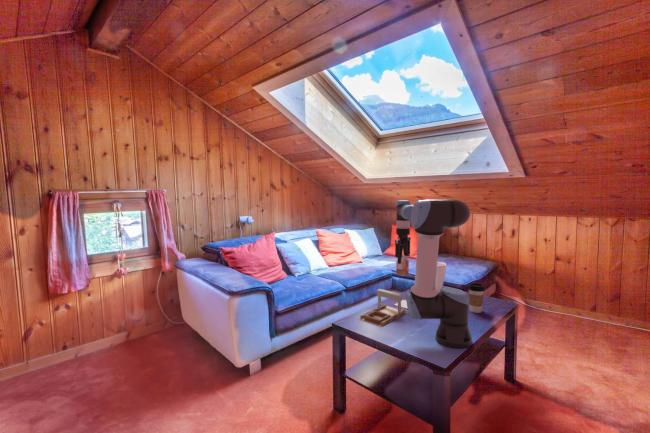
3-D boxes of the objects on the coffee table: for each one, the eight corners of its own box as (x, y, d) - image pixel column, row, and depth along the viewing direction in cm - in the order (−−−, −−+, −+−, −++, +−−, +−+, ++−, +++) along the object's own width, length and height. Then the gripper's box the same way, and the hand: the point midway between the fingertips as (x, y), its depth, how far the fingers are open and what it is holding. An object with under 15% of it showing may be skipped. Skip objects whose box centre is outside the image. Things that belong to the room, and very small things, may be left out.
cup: (434, 293, 211) (434, 260, 209) (449, 297, 202) (450, 263, 200) (422, 296, 205) (423, 263, 203) (438, 301, 195) (438, 266, 193)
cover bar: (399, 314, 170) (399, 295, 169) (376, 307, 179) (376, 290, 178) (402, 312, 172) (402, 294, 171) (380, 305, 182) (380, 288, 181)
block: (404, 276, 182) (404, 262, 182) (396, 274, 186) (396, 260, 185) (408, 274, 186) (408, 260, 185) (400, 272, 189) (400, 259, 189)
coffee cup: (465, 311, 180) (465, 284, 179) (470, 306, 186) (471, 281, 185) (481, 315, 175) (481, 287, 173) (486, 310, 181) (486, 284, 179)
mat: (410, 310, 183) (410, 309, 183) (393, 305, 191) (393, 304, 191) (420, 304, 191) (420, 304, 191) (403, 300, 199) (403, 299, 199)
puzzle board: (380, 330, 158) (380, 323, 158) (357, 322, 168) (357, 315, 167) (408, 314, 176) (408, 308, 176) (386, 308, 186) (386, 302, 186)
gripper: (405, 225, 192) (404, 264, 195) (388, 228, 179) (388, 270, 182) (416, 226, 187) (416, 266, 190) (400, 229, 174) (400, 272, 176)
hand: (402, 267), depth 186 cm, fingers closed on block, 5 cm apart
